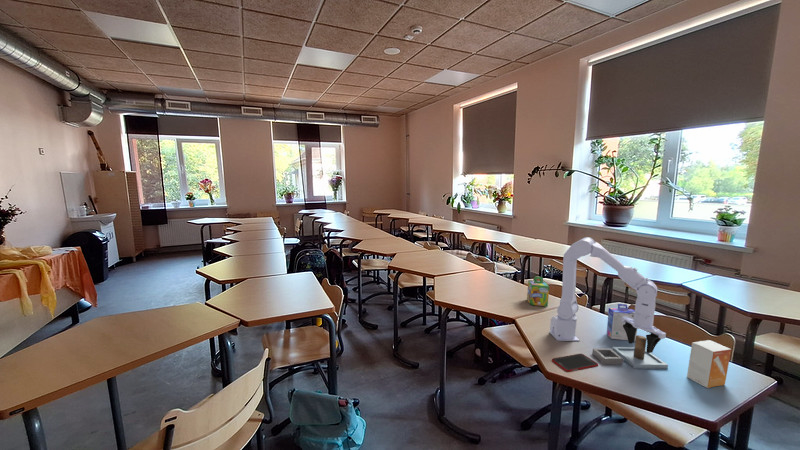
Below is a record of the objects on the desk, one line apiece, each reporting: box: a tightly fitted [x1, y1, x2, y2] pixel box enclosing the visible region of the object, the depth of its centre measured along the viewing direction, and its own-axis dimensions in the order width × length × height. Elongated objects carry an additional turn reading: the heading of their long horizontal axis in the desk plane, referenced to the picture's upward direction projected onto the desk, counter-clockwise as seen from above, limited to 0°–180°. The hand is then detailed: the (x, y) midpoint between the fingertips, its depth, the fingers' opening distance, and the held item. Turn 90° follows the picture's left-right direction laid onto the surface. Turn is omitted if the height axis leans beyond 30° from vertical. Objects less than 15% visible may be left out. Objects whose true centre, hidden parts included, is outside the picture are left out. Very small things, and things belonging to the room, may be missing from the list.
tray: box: [611, 346, 669, 370], centre depth 119 cm, size 12×12×2 cm
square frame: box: [592, 347, 624, 365], centre depth 119 cm, size 7×7×2 cm
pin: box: [634, 334, 647, 360], centre depth 118 cm, size 3×3×8 cm
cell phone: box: [551, 353, 599, 373], centre depth 116 cm, size 8×15×1 cm, turn 106°
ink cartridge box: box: [606, 303, 638, 342], centre depth 135 cm, size 10×6×14 cm, turn 78°
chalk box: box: [526, 276, 550, 307], centre depth 173 cm, size 9×9×15 cm
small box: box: [686, 339, 732, 389], centre depth 105 cm, size 8×6×13 cm
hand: (640, 347), depth 118 cm, fingers open, 6 cm apart
